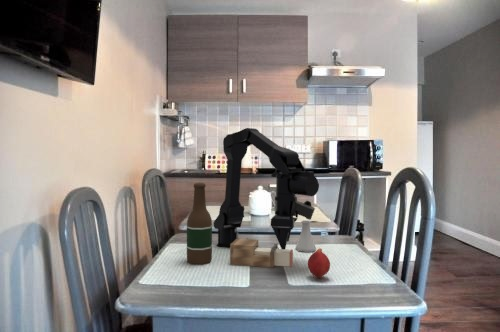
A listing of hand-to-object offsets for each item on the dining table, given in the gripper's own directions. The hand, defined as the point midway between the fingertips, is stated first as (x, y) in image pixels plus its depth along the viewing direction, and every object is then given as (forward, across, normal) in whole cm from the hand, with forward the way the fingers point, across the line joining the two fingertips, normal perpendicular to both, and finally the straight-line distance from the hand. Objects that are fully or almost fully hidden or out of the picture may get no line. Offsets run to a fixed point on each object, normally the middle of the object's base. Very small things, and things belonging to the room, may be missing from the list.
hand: (285, 245), depth 107 cm
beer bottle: (+6, -3, +26) cm, 27 cm away
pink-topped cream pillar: (+6, 0, +5) cm, 8 cm away
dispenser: (+6, 0, +9) cm, 11 cm away
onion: (+6, -10, -10) cm, 15 cm away
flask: (+6, +18, -5) cm, 20 cm away
